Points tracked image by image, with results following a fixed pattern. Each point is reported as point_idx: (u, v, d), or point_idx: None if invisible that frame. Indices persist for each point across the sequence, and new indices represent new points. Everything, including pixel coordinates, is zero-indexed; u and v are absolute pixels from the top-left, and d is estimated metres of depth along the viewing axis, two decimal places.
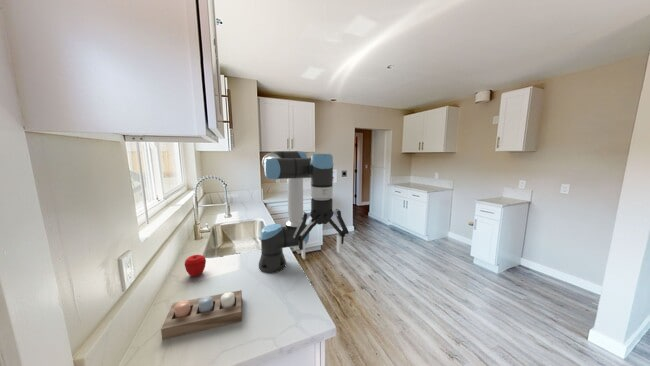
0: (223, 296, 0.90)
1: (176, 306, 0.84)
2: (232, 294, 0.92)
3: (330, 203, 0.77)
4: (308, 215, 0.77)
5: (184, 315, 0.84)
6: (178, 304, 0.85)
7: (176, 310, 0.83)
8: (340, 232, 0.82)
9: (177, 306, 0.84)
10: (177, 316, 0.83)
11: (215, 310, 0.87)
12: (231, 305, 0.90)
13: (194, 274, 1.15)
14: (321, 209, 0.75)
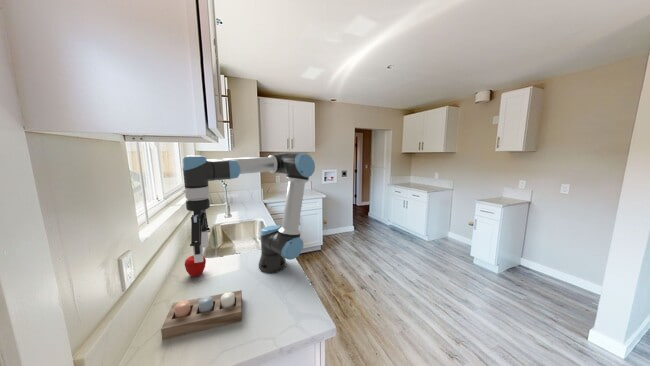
0: (223, 296, 0.90)
1: (176, 306, 0.84)
2: (232, 294, 0.92)
3: (187, 204, 0.79)
4: None
5: (184, 315, 0.84)
6: (178, 304, 0.85)
7: (176, 310, 0.83)
8: None
9: (177, 306, 0.84)
10: (177, 316, 0.83)
11: (215, 310, 0.87)
12: (231, 305, 0.90)
13: (194, 274, 1.15)
14: None
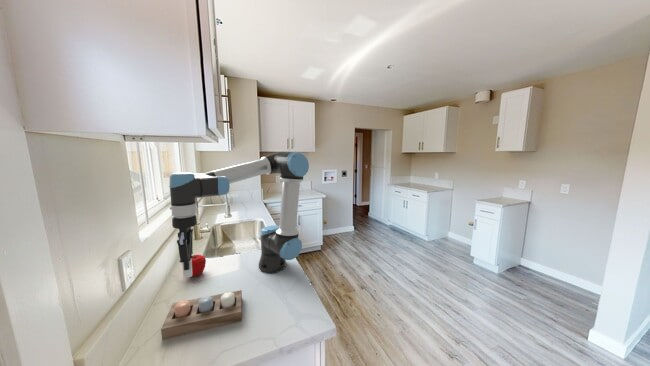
0: (223, 296, 0.90)
1: (176, 306, 0.84)
2: (232, 294, 0.92)
3: (173, 221, 0.78)
4: None
5: (184, 315, 0.84)
6: (178, 304, 0.85)
7: (176, 310, 0.83)
8: None
9: (177, 306, 0.84)
10: (177, 316, 0.83)
11: (215, 310, 0.87)
12: (231, 305, 0.90)
13: (194, 274, 1.15)
14: None
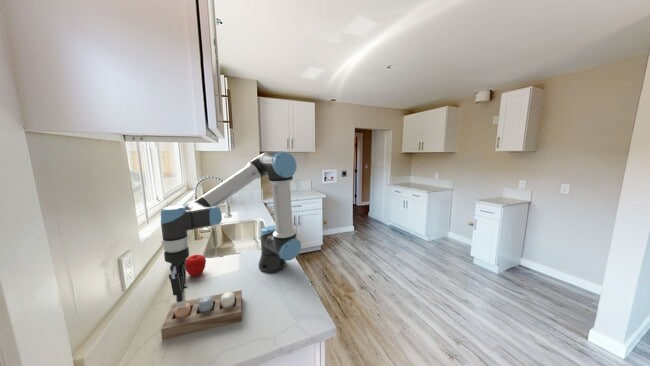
0: (223, 296, 0.90)
1: (176, 308, 0.85)
2: (232, 294, 0.92)
3: (165, 255, 0.79)
4: None
5: None
6: None
7: (176, 312, 0.83)
8: None
9: (177, 309, 0.84)
10: None
11: (215, 310, 0.87)
12: (231, 305, 0.90)
13: (194, 274, 1.15)
14: None
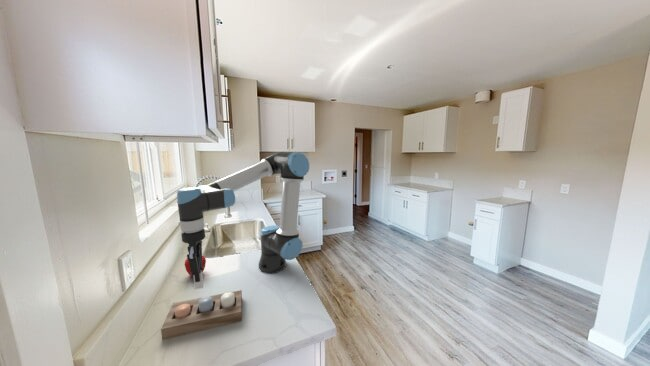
0: (223, 296, 0.90)
1: (176, 309, 0.85)
2: (232, 294, 0.92)
3: (182, 236, 0.80)
4: None
5: None
6: (178, 307, 0.86)
7: (176, 313, 0.83)
8: None
9: (178, 310, 0.84)
10: None
11: (215, 310, 0.87)
12: (231, 305, 0.90)
13: None
14: None
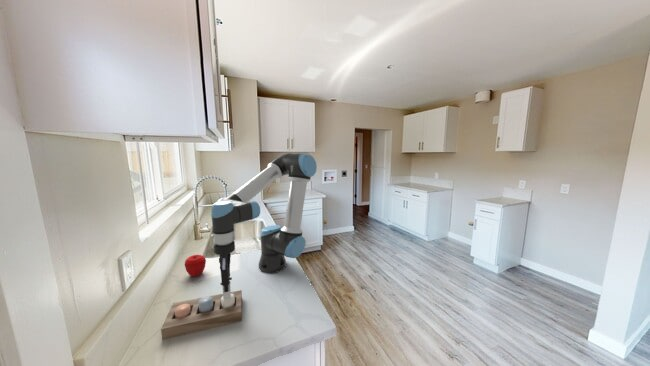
0: None
1: (176, 309, 0.85)
2: (232, 295, 0.92)
3: (215, 248, 0.84)
4: None
5: None
6: (178, 307, 0.86)
7: (176, 313, 0.83)
8: None
9: (178, 310, 0.84)
10: None
11: (215, 310, 0.87)
12: (231, 306, 0.90)
13: (194, 274, 1.15)
14: None
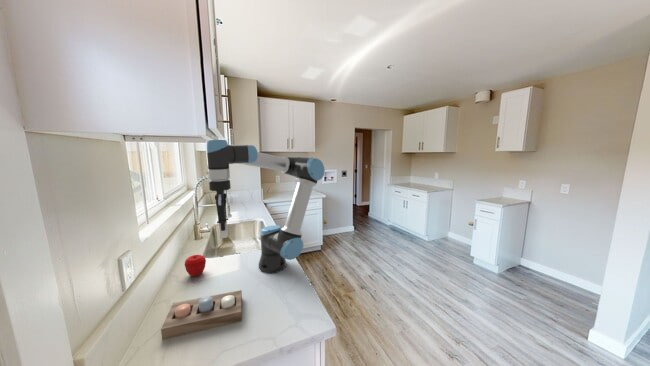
0: (223, 299, 0.91)
1: (176, 309, 0.85)
2: (232, 297, 0.92)
3: (210, 184, 0.84)
4: None
5: None
6: (178, 307, 0.86)
7: (176, 313, 0.83)
8: None
9: (178, 310, 0.84)
10: None
11: (215, 310, 0.87)
12: None
13: (194, 274, 1.15)
14: None
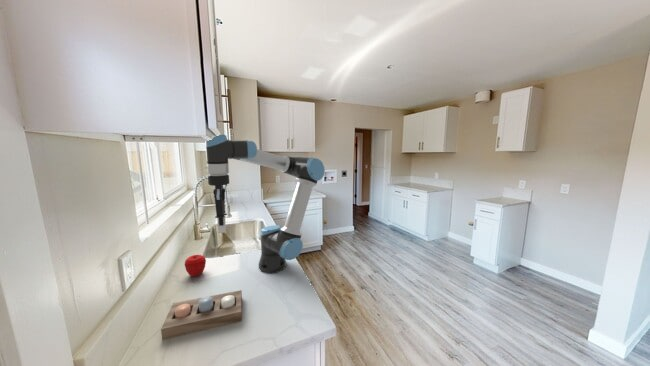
0: (223, 299, 0.91)
1: (176, 309, 0.85)
2: (232, 297, 0.92)
3: (209, 179, 0.85)
4: None
5: None
6: (178, 307, 0.86)
7: (176, 313, 0.83)
8: None
9: (178, 310, 0.84)
10: None
11: (215, 310, 0.87)
12: None
13: (194, 274, 1.15)
14: None
